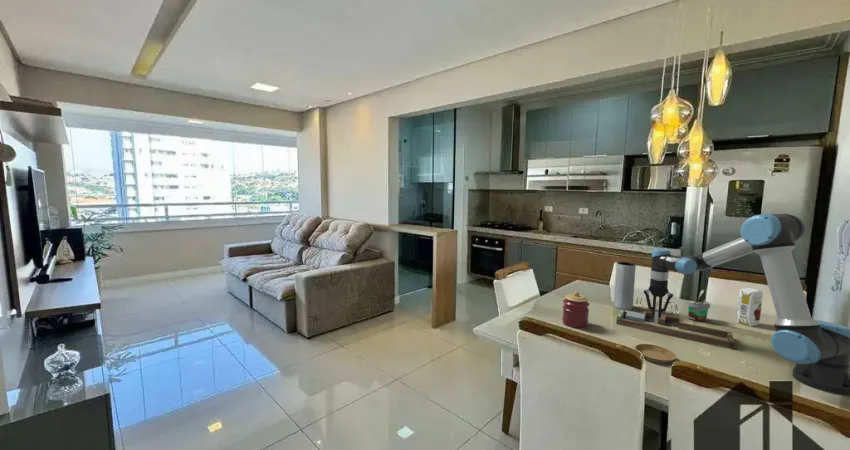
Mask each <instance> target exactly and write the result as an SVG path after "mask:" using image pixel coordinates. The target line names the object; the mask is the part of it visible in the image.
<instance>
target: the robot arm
mask: <svg viewBox="0 0 850 450" xmlns="http://www.w3.org/2000/svg"><path fill="white" fill-rule="evenodd" d="M805 232H806V225H805V222H804V221H803V220H802V219H801V218H800V217H797V216H796V215H793V214H788V213H762V214H761V213H760V214H756V215H753V216H750V217H748V218H746V219H745V221H744V222H743V223H742V225H741V226H740V237H739V238H736V239H734V240H731V241H729V242H726V243H724V244H721V245H719V246H716V247H714V248H712V249H709V250H707V251H704V252H702V253H699V254H696V255H682V256H679V255H673V254H671V251H670V249H665V248H654V249H652V253H651V264H650V265H651V267H650V279H649V286H648V288H647V289H644V290H643V293H644V295H645V299H646V303H647V308H648V310H651V312H652V317H655V318H654V322H653V325H659V324H658V318H661V314H662V313H664V312H666V311H667V308H668V306H669V304H670V302H671V301H670V300H671V299H673V297H674V294H673V293H671V292H670V291H669V289H668V287H669V286H668V284H669V281H668V280H669V275H670V274H669V272H670V271H672V272H677V273H681V274H685V275H686V274H687V275H691V274H693V273H695V272H699V271H700V272H702V271H704V272H705V271H709V270H712V269H713V268H714V267H716V266H719V265H721V264H724V263H727V262H730V261H733V260H735V259H738V258H742V257H744V256H748V255H751V254H753V253H755V254H757V255H758V256H759V259H760V260H761V264H762V267H763V271H764V275H765V278H766V282H767V286H768V290H769V294H770V296H771V298H772V299H771V300H772V303H773V307H774V310H775V313H776V317H777V319H776V320H775V321H774V322H773V326H774V331H775V332H773V334H772V335H771V338H770V344H771V346H772V348H773V349H774V351H775V352H776V353H777V354H778V355H779V356H781V357H782V358H783V359H784V360H786V361H789V362H791V363H793V364H795V365H794V367H792V372H791V374H792V375H791V376H792V377H793V378H794V379H795V380H797V381H798V382H800V383H802V384H805V386H809V387H811V388H814V389H817V390H820V391H824V392H826V393H827V392H828V393H832V394H836V393H838V394H839V395H850V328H849V327H847V326H844V325H841V324H837V323H833V322H829V321H824V320H820V319H813V318H812V316H811V312H810V309H809V305H808V303H807V299H806V296H805V292H804V289H803V285H802V283H801V279H800V276H799V273H798V269H797V267H796V263H795V259H794V256H793V253H792V252H793V250H794V249H795V248H796V247H797V246H796V243H795V242H797V241H799V240H800V239H802V238H803V236H804V235H805ZM650 294H651V295H652V303H651V298H650ZM665 296H666V297H667V298H666V301H665V302H664V306H663V298H664V297H665ZM657 297H658V310H656V308H657V307H656V305H657ZM662 306H663V307H662Z"/></svg>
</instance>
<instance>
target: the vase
mask: <svg viewBox="0 0 850 450" xmlns="http://www.w3.org/2000/svg"><path fill="white" fill-rule="evenodd" d="M636 265H637V264H635V263H633V262H629V261H627V262H626V261H618V262H617V261H616V266H615V267H616V268H615V269H616V270H615V282H614V284H615V285H614V299H613V306H614V307H615V308H617V309H620V310H621V309H624V311H625V310H627V311H631V310H632V309H633V308H634V307H633V306H634V295H635V282H636V281H635V279H636Z"/></svg>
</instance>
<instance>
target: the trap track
mask: <svg viewBox="0 0 850 450" xmlns="http://www.w3.org/2000/svg"><path fill="white" fill-rule="evenodd" d="M627 312H628V311H625V309H620V310H619V312H618V314H617V315H616V322H615V323H616V325H620V326H624V327H630V328H634V329H638V330H643V331H647V332H652V333H656V334H660V335H666V336H671V337H676V338H680V339H684V340H689V341H693V342H697V343H701V344H708V345H712V346H717V347H720V348H721V347H722V348H725V349H730V350H735V340H734V336H733V331H727V330H722V329H717V328H713V327H711V328H710V327H708V326H701V325H697V324H690V323H686V322H684V318H683V317H677V316H671V315H667V314H662V313H661V318H658V324H657V325H656V324H650V323H654V318H655V317H652V311H651V312H650V311H645V310H643V312H642V314H645V323H640V322H636V321H631V320H626V314H627ZM624 318H625V319H624ZM646 322H650V323H646ZM659 325H660V326H659ZM664 326H669V327H674V328H678V329H674V328H669V327H664ZM679 329H680V330H679ZM683 330H684V331H683ZM687 331H688V332H687ZM689 331H690V332H689ZM692 332H693V333H692ZM694 332H695V333H694ZM698 333H699V334H698ZM703 334H704V335H703ZM719 337H720V338H719ZM722 338H724V339H722ZM726 339H727V340H726Z"/></svg>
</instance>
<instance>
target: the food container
mask: <svg viewBox="0 0 850 450" xmlns="http://www.w3.org/2000/svg"><path fill="white" fill-rule="evenodd" d="M687 306H688V309H687V310H688V311H687V313H688V314H687V315H688V319H687V320H689V321H692V322H698V323H705V322H707V318H708V313H709V309H711V304H710V302H708V301H706V300H703V301H701V302H699V301H696V302H690V301H688V303H687Z"/></svg>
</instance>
